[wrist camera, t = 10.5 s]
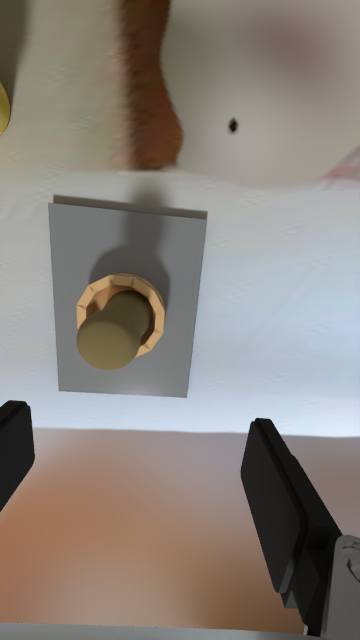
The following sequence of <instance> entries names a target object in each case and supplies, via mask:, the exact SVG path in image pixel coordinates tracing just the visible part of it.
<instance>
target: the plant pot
mask: <svg viewBox="0 0 360 640" xmlns="http://www.w3.org/2000/svg"><path fill="white" fill-rule="evenodd" d="M9 119H10V103H9V99H8V96H7V93H6V91H5V89H4V87H3V85H2V83H1V82H0V135H1V134H2V133H3V132H4V130H5V129H6V127H7V125H8V122H9Z"/></svg>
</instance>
